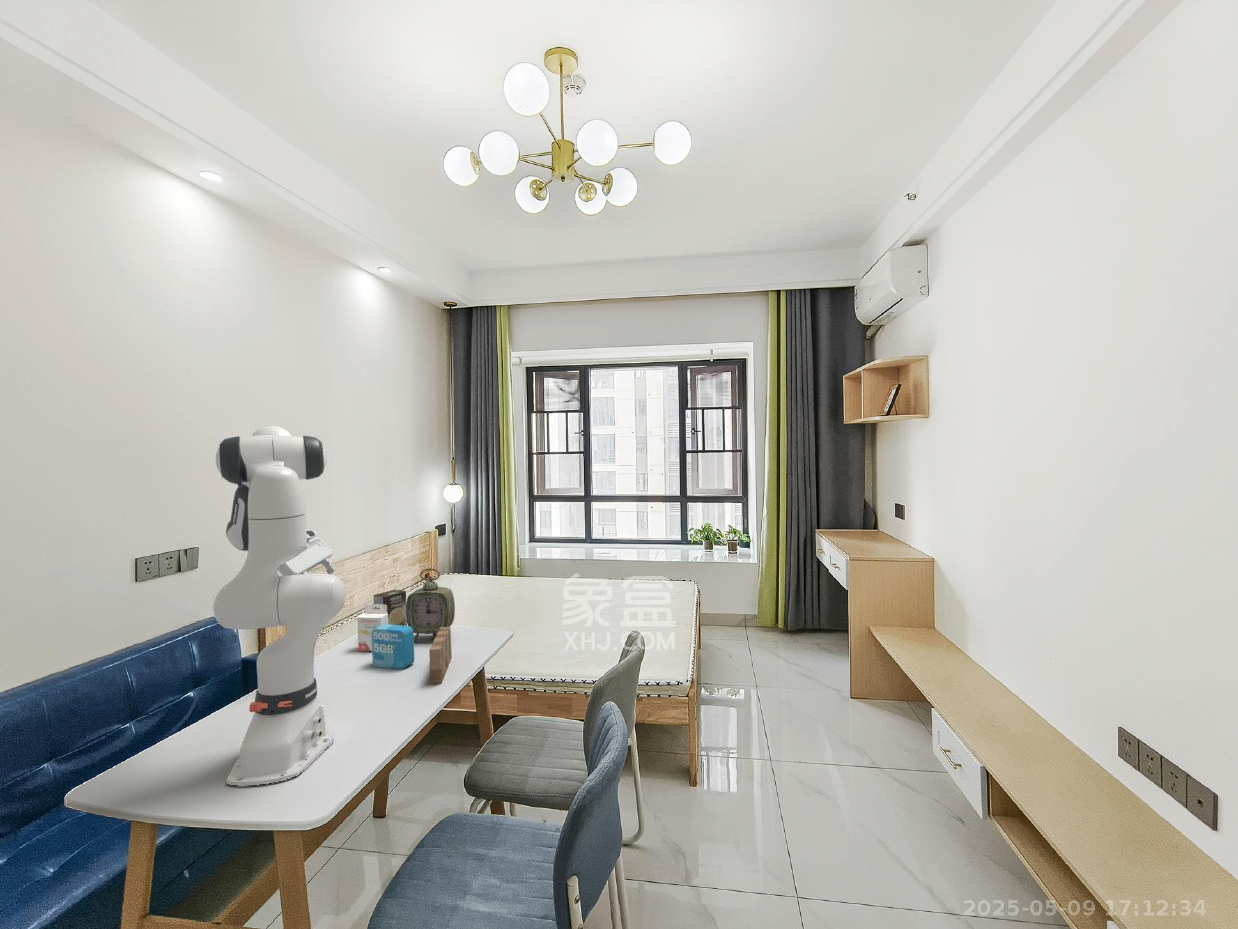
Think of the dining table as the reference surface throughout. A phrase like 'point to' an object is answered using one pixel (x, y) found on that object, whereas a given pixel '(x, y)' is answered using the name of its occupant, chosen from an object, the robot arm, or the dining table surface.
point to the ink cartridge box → (370, 624)
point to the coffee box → (393, 606)
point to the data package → (392, 646)
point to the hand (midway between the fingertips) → (324, 578)
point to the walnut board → (440, 655)
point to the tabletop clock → (430, 608)
